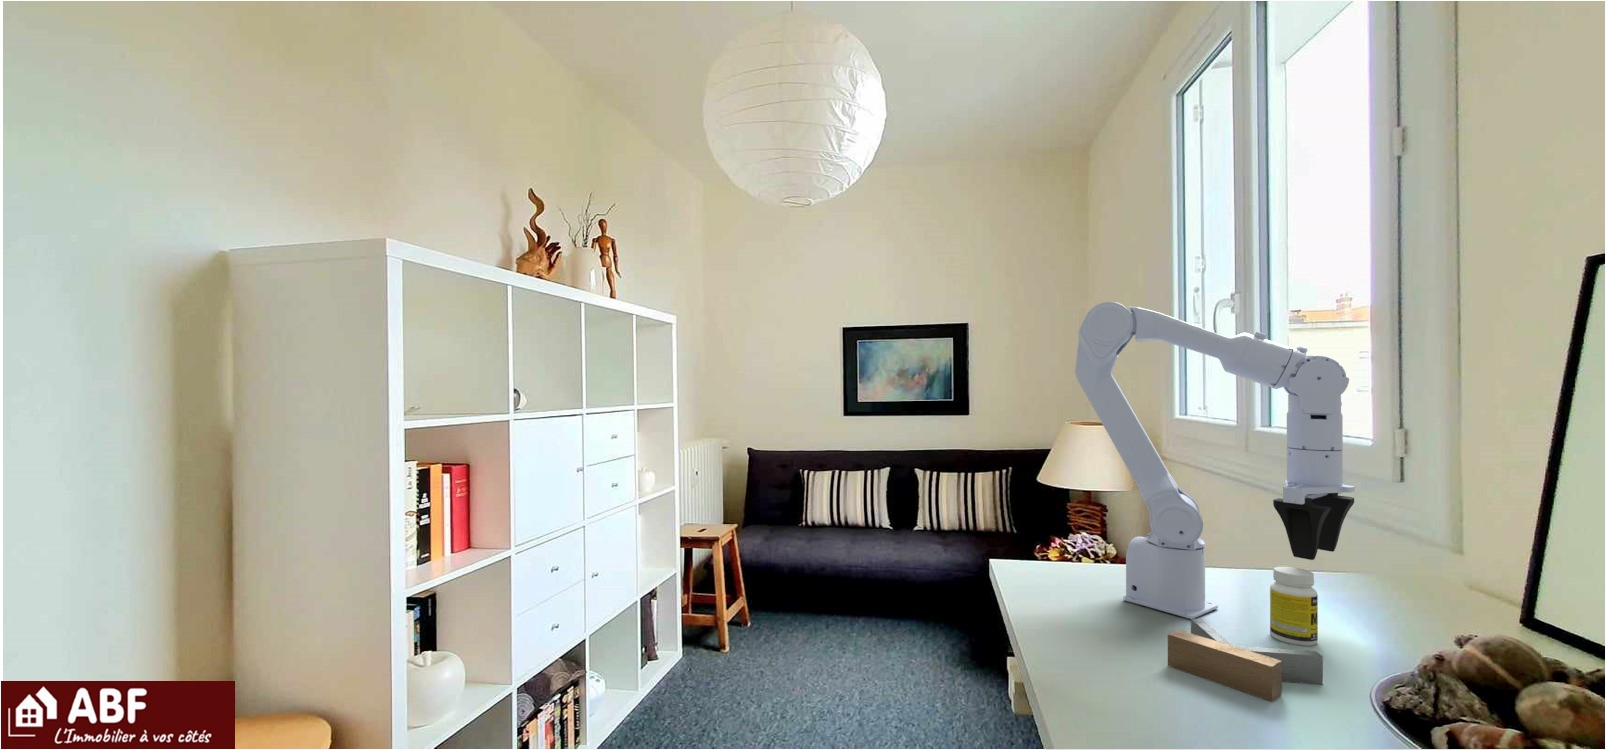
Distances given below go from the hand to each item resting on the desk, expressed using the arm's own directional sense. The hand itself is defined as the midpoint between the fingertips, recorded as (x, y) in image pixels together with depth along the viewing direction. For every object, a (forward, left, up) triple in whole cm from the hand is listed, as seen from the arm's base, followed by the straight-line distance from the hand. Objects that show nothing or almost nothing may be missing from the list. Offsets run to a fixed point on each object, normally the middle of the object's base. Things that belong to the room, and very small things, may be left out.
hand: (1314, 553), depth 85 cm
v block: (0, -23, -9) cm, 25 cm away
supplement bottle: (0, -7, -10) cm, 12 cm away
